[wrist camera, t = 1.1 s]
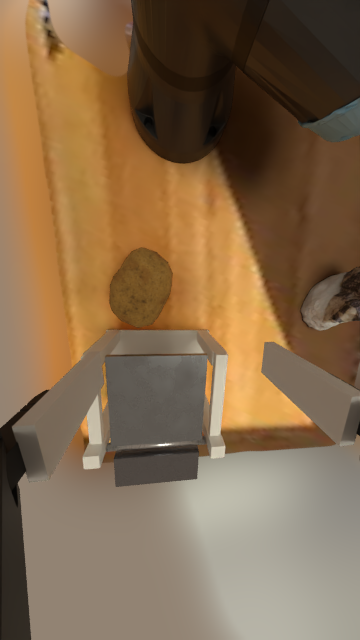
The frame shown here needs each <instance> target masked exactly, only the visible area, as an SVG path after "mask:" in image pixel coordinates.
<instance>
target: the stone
mask: <svg viewBox="0 0 360 640" xmlns="http://www.w3.org/2000/svg"><path fill="white" fill-rule="evenodd" d="M301 312H302V316H303V321H305V322H306V324H307V325H308V326H309V327H313V328H314V329H318V330H319V331H320V330H326V329H329V328H330V327H332V326H336V325H338V324H339V323H344V322H348V321H360V267H356V268H354V269H353V270H351V271H350V272H346V273H341V274H338V275H333V276H330V277H328V278H326V279H325V280H323V281H321V282H319V283H317V284H316V285H315V286H314V287H313V288H312V289H311V290H310V291H309V293H308V295H307V297H306V299H305V301H304V303H303V305H302V308H301Z"/></svg>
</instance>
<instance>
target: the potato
mask: <svg viewBox="0 0 360 640" xmlns="http://www.w3.org/2000/svg"><path fill="white" fill-rule="evenodd" d="M171 286H172V271H171V269H170V266H169V264H168V262H167V261H166V260H165V259H164V258H162V257H161V256H160V255H159V254H158V253H157V252H155V251H152V250H149V249H146V248H143V247H141V248H139V249H137V250H134V251H132V252H131V253H130V254H129V256H128V257H127V258H126V260H125V261H124V263H123V265H122V266H121V268H120V269H119V271H118V272H117V273H116V274H115V275H114V277H113V279H112V282H111V284H110V302H109V303H110V306H111V309H112V311H113V313H114V314H115V315H116V316H117V317H118V318H119V319H120V320H121V321H123V322H125V323H128V324H130V325H132V326H135V327H137V328H139V327H144V326H148V325H152V324H153V322H154V321H155V320H156V319H157V318H158V316H159V314H160V312H161V311H162V309H163V307H164V305H165V303H166V301H167V299H168V297H169V295H170V291H171Z"/></svg>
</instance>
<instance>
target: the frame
mask: <svg viewBox="0 0 360 640" xmlns="http://www.w3.org/2000/svg"><path fill="white" fill-rule="evenodd" d="M94 351H100V357H101V365H103V364H104V362H105V356H106V355H122V354H195V353H207V355H208V360H209V362H210V363H211V365H213V373H212V386H211V398H210V405H209V403H208V400H207V397H206V395H205V399H204V413H203V427H202V429H203V433H204V436H205V437H206V444H207V447H208V451H209V454H210V458H211V459H212V458H224V455H225V443H224V441H223V438H222V436H221V433H220V431H221V421H222V411H223V401H224V391H225V381H226V371H227V361H228V354H227V352H226V351H225V350H224V348H223V347H222V346H221V345H220V344H219V343H218V342H217V341H216V340H215V339H214V338H213V337H212V336H211V335H210V334H209V330H106V333H105V334H104V335H103V336H102V337H101V338H100V339H99V340H98V341H97V342H95V343H94V344H93V345H92V346H91V347H90V348H89V349H88V350H87V351H85V352H84V353H83V356H82V357H81V359H82V358H83V357H84V356H85V355H86V354H87V353H88V352H94ZM87 422H88V432H89V444H88V446H87V449H86V451H85V453H84V455H83V465H84V469H94V468H100V467H101V464H102V461H103V458H104V455H105V452H106V445H107V443H109V440H110V423H109V408H108V402H107V404H106V407H105V409H104V411H103V413H102V401H101V390H100V392H99V393H98V395H97V397H96V399H95V400H94V402H93V404H92V406H91V407H90V409H89V411H88V413H87Z"/></svg>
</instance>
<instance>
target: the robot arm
mask: <svg viewBox="0 0 360 640" xmlns="http://www.w3.org/2000/svg"><path fill="white" fill-rule="evenodd" d="M131 3H132V13H133V30H132V39H131V47H130V56H129V65H128V93H129V99H130V105H131V110H132V115H133V119H134V122H135V124H136V127H137V129H138V131H139V133H140V135H141V136H142V138H143V139H144V141H145V142H146V143H147V145H148V146H149V147H150V148H151V149H152V150H153V151H154V152H156V153H157V154H158V155H160V156H161V157H163V158H165V159H167V160H170V161H173V162H178V163H188V162H193V161H196V160H199V159H201V158H203V157H204V156H206V155H207V154H208V153H209V152H210V151H211V150H212V149H213V148H214V147H215V146H216V144H217V143H218V141H219V140H220V138H221V136H222V133H223V131H224V129H225V126H226V124H227V121H228V118H229V115H230V111H231V106H232V100H233V90H234V79H235V69H236V66H237V67H238V68H239V69H241V70H242V71H243V73H245V74H246V75H247V76H248V77H249V78H250V79H252V80H253V81H254V82H255V83H256V84H257V85H259V86H260V87H261V88H262V89H263V90H264V91H266V92H267V93H268V94H269V95H270V96H271V97H273V98H274V99H275V100H276V101H277V102H278V103H280V104H281V105H282V106H283V107H284V108H285V109H287V110H288V111H289V112H290V113H291V114H292V115H293V116H295V117H296V118H297V119H298V123H299V125H300V126H302V127H303V128H309V129H310V130H312V131H313V132H315V133H316V134H318V135H319V136H321V137H322V138H323V139H324V140H326V141H330V142H340V141H344V140H347V139H350V138H352V137H353V136H358V135H360V0H131ZM261 372H262V373H263V374H264V375H265V376H266V377H267V378H268V379H269V380H270V381H271V382H272V383H273V384H274V385H275V386H276V387H277V388H278V389H280V390H281V391H282V392H283V393H284V394H285V395H286V396H287V397H288V398H289V399H290V400H291V401H292V402H293V403H294V404H295V405H296V406H297V407H299V408H300V409H301V410H302V411H303V412H304V413H305V414H306V415H307V416H308V417H309V418H310V419H311V420H312V421H313V422H314V423H315V424H316V425H318V426H319V427H320V428H321V429H322V430H323V431H324V432H325V433H326V434H327V435H328V436H329V437H330V438H331V439H332V440H333V441H334V442H335V443H337V444H338V445H339V446H345V445H354V442H355V438H356V435H357V434H358V435H359V436H360V390H359V389H357V388H355V387H354V386H352V385H350V384H348V383H346V382H345V381H343V380H340V379H339V378H338V377H336V376H334V375H332V374H330V373H328V372H326V371H324V370H322V369H320V368H319V367H317V366H315V365H313V364H312V363H310V362H308V361H306V360H304V359H303V358H301V357H299V356H297V355H296V354H294V353H292V352H290V351H289V350H287V349H285V348H283V347H282V346H280V345H278V344H276V343H275V342H265V344H264V353H263V362H262V371H261ZM103 384H104V379H103V372H102V365H101V357H100V351H94V352H88V353H87V354H86V355H85V356H84V357H83V358H82V359H81V360H80V361H79V362H78V363H77V364H76V365H75V366H74V367H73V368H72V369H71V370H70V371H69V372H68V373H67V374H66V375H65V376H64V377H63V378H62V379H61V380H60V381H59V382H57V383H56V384H55V385H54V387H52V388H51V389H50V390H45V391H43V392H42V393H40V394H38V395H37V396H35V397H34V398H33V399H32V400H31V401H30V402H29V403H28V404H27V405H25V406H24V407H23V408H22V409H21V410H20V412H18V413H17V414H16V415H14V416H13V417H12V418H11V419H10V420H9V421H8V422H7V423H6V424H5V425H3V426H2V427H1V428H0V640H31V632H30V618H29V606H28V594H27V580H26V567H25V554H24V543H23V528H22V515H21V503H20V489H19V486H18V481H19V480H20V479H21V477H22V476H23V474H24V473H25V472H26V474H27V478H28V481H29V482H38V481H46V480H49V479H50V477H51V475H52V474H53V472H54V471H55V469H56V467H57V465H58V464H59V462H60V460H61V458H62V456H63V455H64V453H65V451H66V449H67V448H68V446H69V444H70V442H71V441H72V439H73V437H74V435H75V434H76V432H77V430H78V428H79V427H80V425H81V423H82V421H83V420H84V418H85V416H86V414H87V413H88V411H89V409H90V407H91V406H92V404H93V402H94V400H95V399H96V397H97V395H98V393H99V392H100V390H101V388H102V386H103Z"/></svg>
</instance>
